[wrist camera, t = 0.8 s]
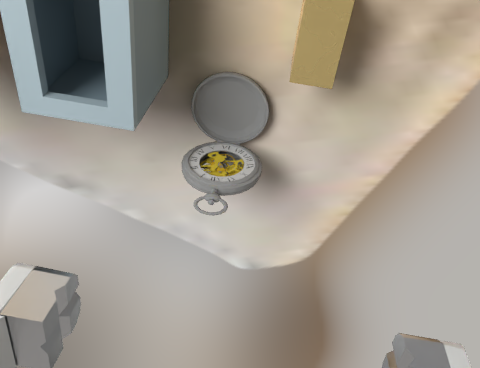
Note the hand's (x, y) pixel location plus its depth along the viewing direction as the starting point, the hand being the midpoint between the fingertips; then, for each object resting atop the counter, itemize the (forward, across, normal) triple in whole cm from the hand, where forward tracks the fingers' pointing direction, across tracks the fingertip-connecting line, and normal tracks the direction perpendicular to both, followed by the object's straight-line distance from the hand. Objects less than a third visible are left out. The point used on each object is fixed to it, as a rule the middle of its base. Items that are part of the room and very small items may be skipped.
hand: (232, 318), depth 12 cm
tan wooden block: (+28, -3, -2) cm, 28 cm away
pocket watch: (+29, +3, +8) cm, 30 cm away
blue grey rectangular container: (+28, +13, 0) cm, 31 cm away
